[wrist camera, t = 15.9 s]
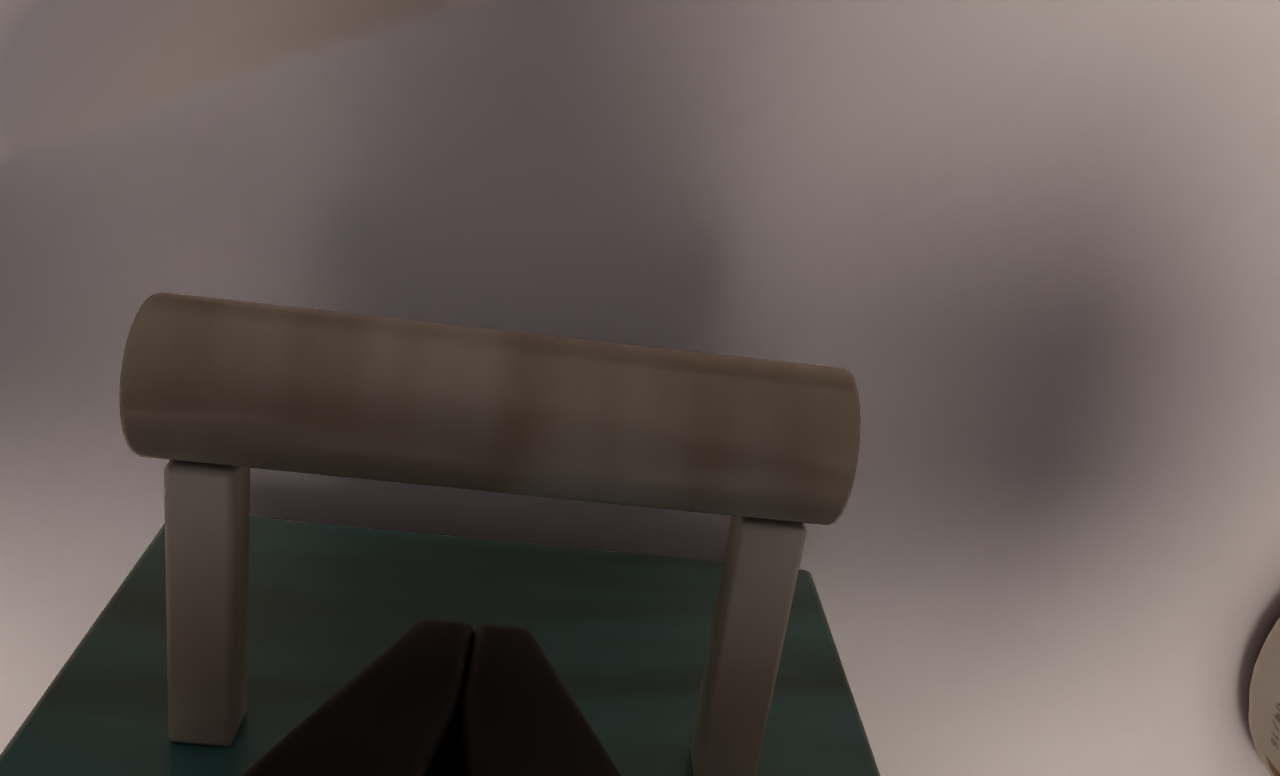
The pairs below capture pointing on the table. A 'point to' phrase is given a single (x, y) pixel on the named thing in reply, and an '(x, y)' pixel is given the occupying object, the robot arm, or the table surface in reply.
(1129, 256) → the table surface
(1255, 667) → the pill bottle
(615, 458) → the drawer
